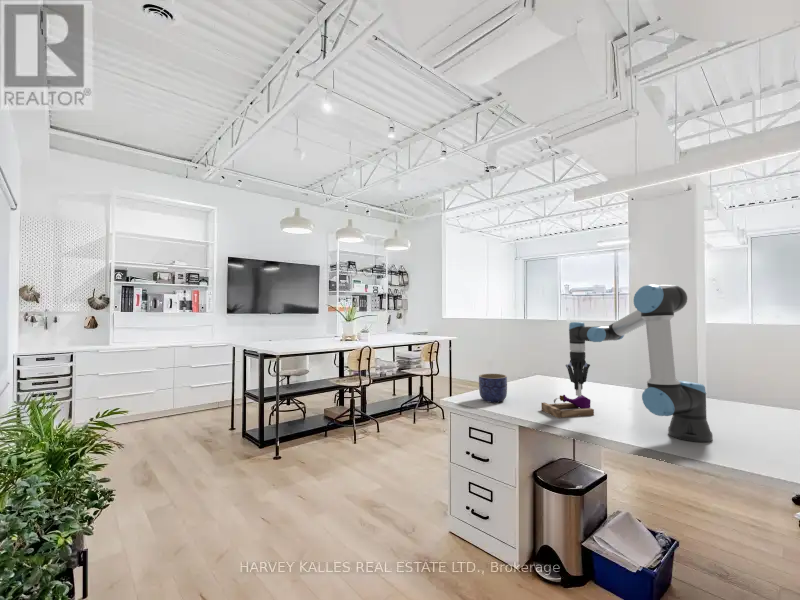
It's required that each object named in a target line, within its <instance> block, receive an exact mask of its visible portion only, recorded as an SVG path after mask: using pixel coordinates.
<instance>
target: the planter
mask: <svg viewBox="0 0 800 600" xmlns="http://www.w3.org/2000/svg"><path fill="white" fill-rule="evenodd" d="M478 389H479V396H480V398H481V399H482V400H483V401H484V402H487V403H494V404H495V403H502V402H504V401H505V400H506V398H507V396H508V376H507V375H506V374H502V373H482V374H479V375H478Z"/></svg>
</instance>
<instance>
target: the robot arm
mask: <svg viewBox="0 0 800 600" xmlns="http://www.w3.org/2000/svg"><path fill="white" fill-rule="evenodd" d="M637 289H638V290H637V291H635V294H634V296H633V306H634V308H635V309H636V310H635V311H633V312H630V314H627V315H625V316H624V317H622V318H620V319H618V320H616V321H614V322H612V323H611V324H609V325H602V326H587V325H585V322H582V321H570V323H569V324H568V335H569V359H570V360H569V363H568V364H565V367H566V369H567V373H568V376H569V380H570V382H571V383H573V384H574V390H575V396H576V397H578V396H582V395H583V394H582V391H583V385H584V383H586V382H587V378H588V373H589V368H590V367H591V364H589V363H588V362H586V342H592V343H601V342H606V341H609V342H610V341H619V340H620V341H621V340H622V339H623V338H624V337H625V335H626V334H629V333H631V332H633V331H635V330H637V329H639V328H641V327H644V326H645V327H646V336H647V348H648V349H647V350H648V360H649V361H648V362H649V370H650V378H649V379H648V380H647V381H646V383H647V384H646V385H647V386H646V387H647V388H645V389H644V391H642V392H641V393H642V394H641V401H642V403H643V406H644V407H645V408H646V409H647V410H648V411H649V412H650V413H651V414H653V415H654V416H658V417H670V416H671V420H670V423H669V426H668V429H667V431H668V435H669V436H670V437H673V438H675V439H679V440H683V441H688V442H695V443H707V442H712V441H713V432H712V431H711V428H710V425H709V423H708V420H707V419H708V418H707V391H706V386H705V385H704V384H702V383H699V382H693V381H686V380H680V379H679V380H678V379H677V377H676V368H675V367H676V366H675V360H674V359H675V358H674V348H673V347H674V346H673V337H672V325H671V319H672V318H674V317H675V313H677V312H679V311H681V310H682V309H683V308H684V307H685V306H686V305H687V302H688V294H687V292H686V291H685V290H684V289H683V288H682V287H681V286H679V285H676V284H657V283H656V284H647V285H643V286H641V287H640V288H637Z"/></svg>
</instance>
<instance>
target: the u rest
mask: <svg viewBox="0 0 800 600" xmlns="http://www.w3.org/2000/svg"><path fill="white" fill-rule="evenodd" d="M556 404H557V405H556ZM541 411H543V412H544V413H547V414H548V415H550V414H551V416H552V417H554V416H555V417H554V418H556V417H557V419H558V418H559V419H561V418H572V417H573V418H575V417H589V416H595V409H593V408H592V407H590V408H585V409H581V408H579V407H577V406H576V405H574V404H572V403H570V402H561V403H546V402H541Z"/></svg>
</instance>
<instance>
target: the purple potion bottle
mask: <svg viewBox="0 0 800 600" xmlns="http://www.w3.org/2000/svg"><path fill="white" fill-rule="evenodd" d="M558 399H559V400H560V401H561V402H562V403H572V404H574V405H576V406H577V407H579V408H580V409H585V408H591V399H590V398H588V397H587V396H585V395H583V394H582V396H576V397H575V398H574V399H573V398H569V397H568V396H566V395H565V394H560V395H559V397H556V398H555V399H554V400H553V404H556V405H557V404H558V403H556V401H557V400H558Z"/></svg>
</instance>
